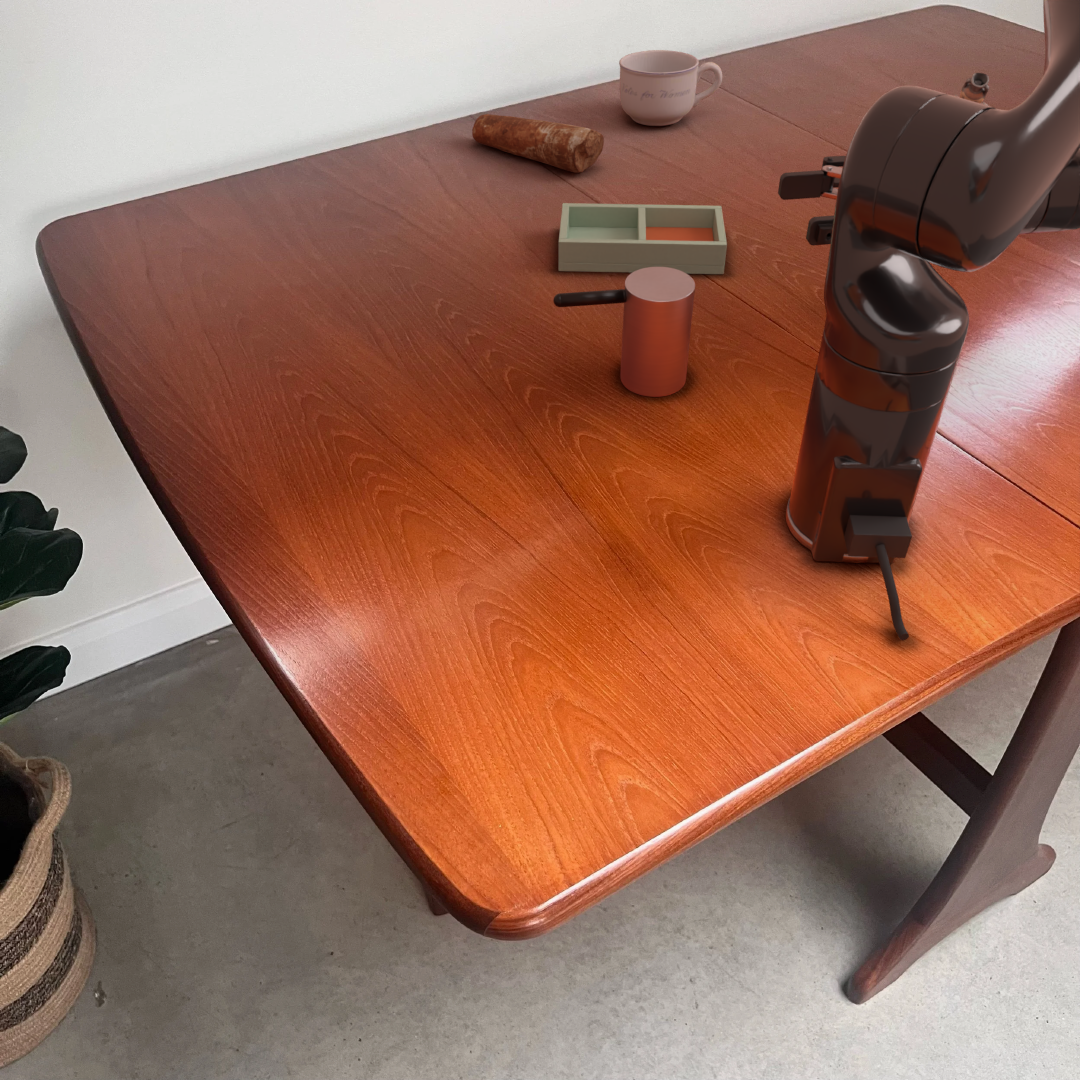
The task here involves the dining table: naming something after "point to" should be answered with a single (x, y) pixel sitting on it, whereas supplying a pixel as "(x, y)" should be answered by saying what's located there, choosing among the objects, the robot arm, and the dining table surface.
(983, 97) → the vase
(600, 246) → the divided box
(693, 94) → the teacup
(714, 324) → the dining table surface
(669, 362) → the handled metal cylinder
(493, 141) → the bread
